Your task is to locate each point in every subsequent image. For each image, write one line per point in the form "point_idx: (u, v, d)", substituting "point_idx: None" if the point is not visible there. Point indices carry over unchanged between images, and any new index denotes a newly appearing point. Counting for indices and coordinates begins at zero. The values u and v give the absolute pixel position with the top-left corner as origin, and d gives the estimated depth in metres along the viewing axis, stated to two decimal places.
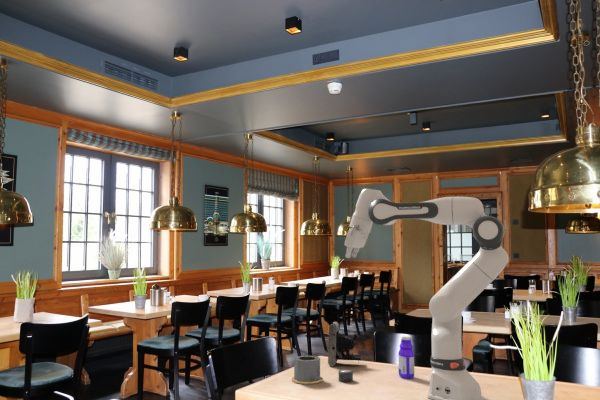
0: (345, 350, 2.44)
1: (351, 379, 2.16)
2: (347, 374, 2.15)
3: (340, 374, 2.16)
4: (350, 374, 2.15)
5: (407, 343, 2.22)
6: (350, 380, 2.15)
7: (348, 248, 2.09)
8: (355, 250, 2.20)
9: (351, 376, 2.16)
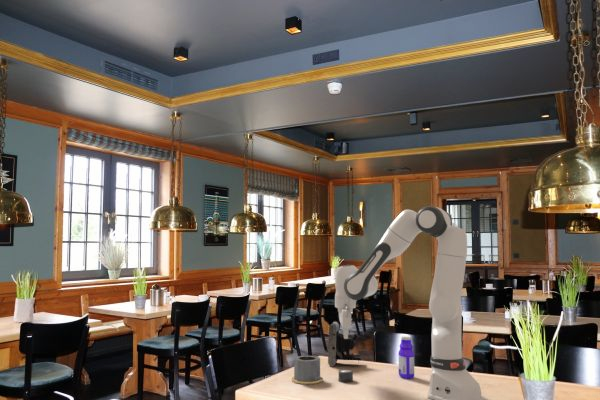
0: (345, 350, 2.44)
1: (351, 379, 2.16)
2: (347, 374, 2.15)
3: (340, 374, 2.16)
4: (350, 374, 2.15)
5: (407, 343, 2.22)
6: (350, 380, 2.15)
7: (345, 329, 2.13)
8: None
9: (351, 376, 2.16)
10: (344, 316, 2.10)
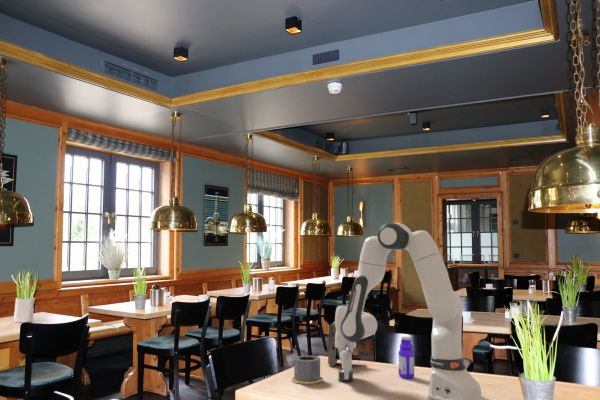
0: None
1: (351, 379, 2.16)
2: None
3: (340, 374, 2.16)
4: (350, 374, 2.15)
5: (407, 343, 2.22)
6: (350, 380, 2.15)
7: None
8: None
9: (351, 376, 2.16)
10: (344, 358, 2.09)
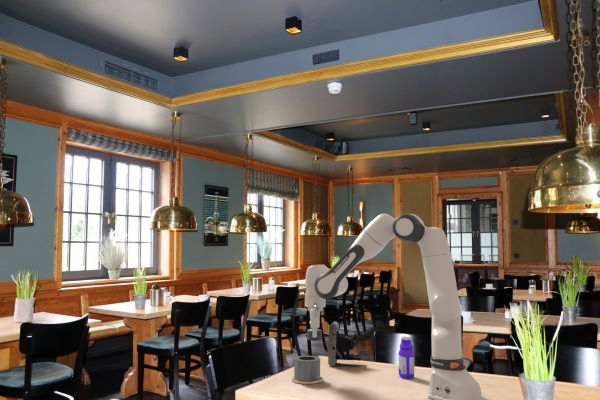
0: (345, 350, 2.44)
1: (319, 337, 2.18)
2: None
3: (309, 332, 2.18)
4: (318, 332, 2.17)
5: (407, 343, 2.22)
6: (318, 338, 2.17)
7: (314, 328, 2.14)
8: None
9: (319, 334, 2.18)
10: (312, 315, 2.11)
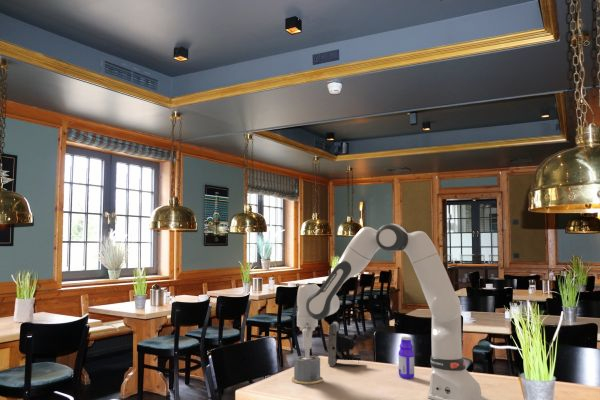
0: (345, 350, 2.44)
1: None
2: None
3: None
4: None
5: (407, 343, 2.22)
6: None
7: (306, 349, 2.12)
8: None
9: None
10: (304, 336, 2.10)
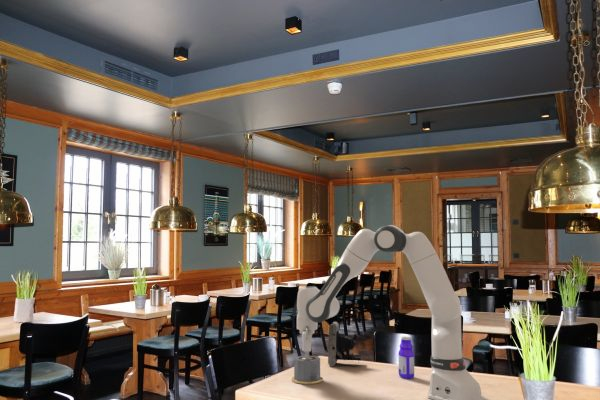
0: (345, 350, 2.44)
1: None
2: None
3: None
4: None
5: (407, 343, 2.22)
6: None
7: None
8: None
9: None
10: (304, 339, 2.10)
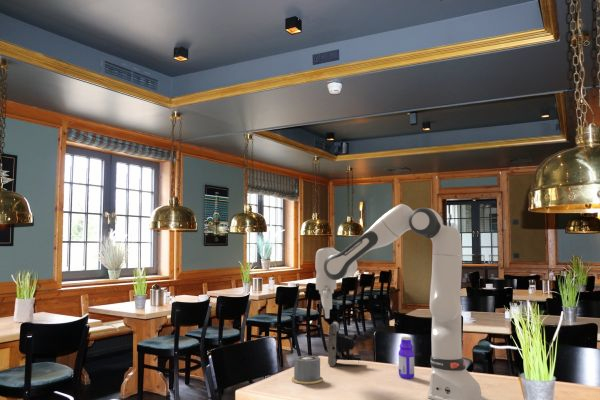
0: (345, 350, 2.44)
1: None
2: None
3: None
4: None
5: (407, 343, 2.22)
6: None
7: (326, 309, 2.20)
8: None
9: None
10: (325, 297, 2.13)
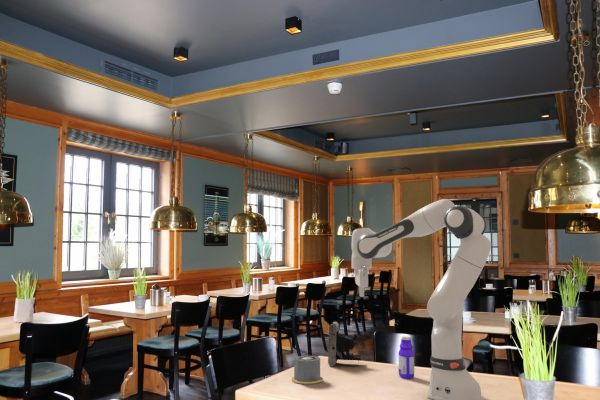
0: (345, 350, 2.44)
1: None
2: None
3: None
4: None
5: (407, 343, 2.22)
6: None
7: (361, 288, 2.25)
8: None
9: None
10: (361, 275, 2.18)
